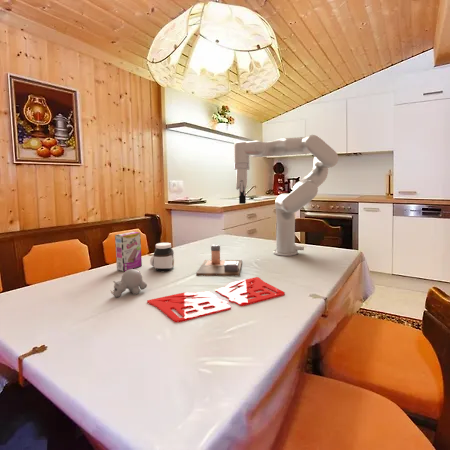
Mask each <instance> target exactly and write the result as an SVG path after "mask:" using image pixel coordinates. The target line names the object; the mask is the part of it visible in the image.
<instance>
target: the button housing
mask: <svg viewBox="0 0 450 450" xmlns="http://www.w3.org/2000/svg"><path fill="white" fill-rule="evenodd" d="M226 264H227V261H226V262H225V265H224V272H238V269H239V262H237V265H226Z"/></svg>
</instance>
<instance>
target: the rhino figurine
mask: <svg viewBox="0 0 450 450" xmlns="http://www.w3.org/2000/svg"><path fill="white" fill-rule="evenodd" d="M112 282H113V283H114V285H113V290H110V293H111V294H112V295H113V297H115V298H119V297H120V296H122V294H123V293H124V292H125V291H126V290H128V291H129V292H130V293H132V294H133V295H137V294H139V293H140V291H141V290H144V289H146V288H147V287H148V284H147V283H146V281H144V280H143V276H142V272H141V271H139V270H137V269H136V268H134V269H129V270H127V271H125V272H123V273H122V275H121V279H120V280H119V281H115V280H113V281H112ZM140 289H141V290H140Z"/></svg>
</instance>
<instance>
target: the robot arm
mask: <svg viewBox="0 0 450 450" xmlns="http://www.w3.org/2000/svg"><path fill="white" fill-rule="evenodd" d="M308 154H311V155H312V156H313V162H312V163H313V166H312V169H311V171H309V172H308V174H306V175H305V176H304V177H303V178H301V179H300V180H299V181H297V182H295V184H294V185H293V187H292V191H290V193H288V192H284V193H280V194H279V195H277V196H276V199H275V202H274V206H275V216H276V217H275V218H276V219H275V220H276V223H275V225H276V227H275V228H276V231H275V232H276V233H275V234H276V238H275V239H276V243H275V244H276V246H275V247H276V248H275V249H274V250H273V254H274V255H276V256H283V257H284V256H286V257H289V256H291V257H292V256H296V255H297V254H299V253H298V251H304V250H305V246H301V245H296V244H295V243H296V230H295V229H296V226H295V225H296V217H295V216H296V215H295V213H297V212H299V211H300V210H301V209H302V208H304V207H305V206H307V204H309V203H310V202H312V200H314V198H316V196H317V194H318V191H319V187H320V186H322V184H323V183H324V182H325V181H326V179H327V178H328V173H329V169H330V168H333V167H334V166H336V165H337V164H338V161H339V155H338V153H337V152H336V150H335V149H334V148H332V147H331V146H330V145H329V144H327V142H325V141H324V140H323V139H322V138H321V137H320V136H318V135H315V134H311V135H310V134H309V135H307V136H299V137H284V138H283V137H282V138H279V139H275V140H271V141H262V140H252V141H246V140H243V141H241V140H240V141H236V142H234V144H233V160H234V166H233V167H234V171H236V175H235V176H236V177H235V185H236V186H235V187H236V188H235V189H236V191H238V190H239V196H238V200H239V201H238V202H239V203H238V204H239V205H244V204H247V202H246V201H247V199H246V198H247V197H246V190H247V187H248V171H250V157H252V158H262V157H263V158H265V157H278V156H279V157H282V156H283V157H284V156H294V155H296V156H297V155H308Z"/></svg>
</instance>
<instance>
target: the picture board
mask: <svg viewBox="0 0 450 450" xmlns="http://www.w3.org/2000/svg"><path fill="white" fill-rule="evenodd" d="M226 261H227V262H239V269H238V272H224V265H225V262H226ZM242 265H243V259H220V263H218V264H213V263H212V259H205V260H204V261H203V262H202V264H201V265H200V267H199V268H198V270H197V271H196V273H195V275H196V276H199V275H203V276H204V275H205V276H206V277H207V276H208V277H209V276H210V277H211V276H212V277H214V276H216V277H217V276H218V277H221V276H224V277H225V276H227V277H228V276H229V277H239V276H240V273H241V270H242V269H241V268H242ZM203 276H202V277H203Z"/></svg>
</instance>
